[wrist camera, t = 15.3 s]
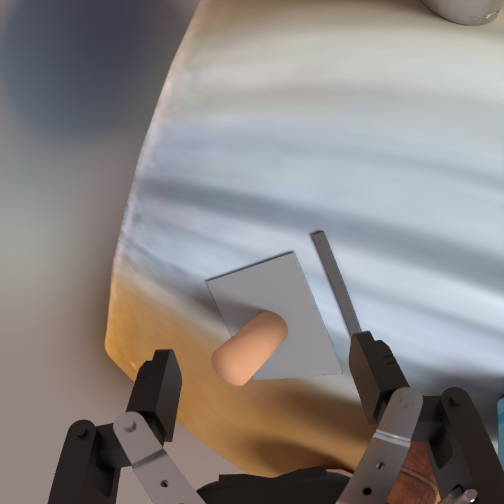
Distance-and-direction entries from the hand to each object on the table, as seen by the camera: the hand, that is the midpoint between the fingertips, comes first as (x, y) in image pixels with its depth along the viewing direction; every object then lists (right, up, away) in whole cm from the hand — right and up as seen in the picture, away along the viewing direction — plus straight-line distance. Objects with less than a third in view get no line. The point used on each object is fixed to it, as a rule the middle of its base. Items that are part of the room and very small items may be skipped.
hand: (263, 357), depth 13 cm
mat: (+4, -4, +24) cm, 25 cm away
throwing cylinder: (+2, -5, +25) cm, 25 cm away
